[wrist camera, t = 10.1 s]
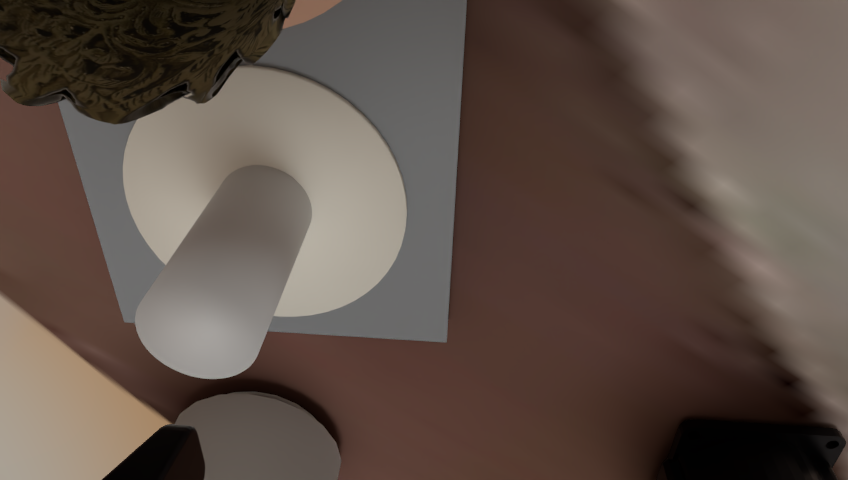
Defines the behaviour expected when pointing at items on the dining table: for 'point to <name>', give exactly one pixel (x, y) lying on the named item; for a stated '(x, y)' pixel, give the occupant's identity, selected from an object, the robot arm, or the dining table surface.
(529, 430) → the dining table surface
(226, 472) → the can
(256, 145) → the board
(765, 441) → the robot arm
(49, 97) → the decorative vase
